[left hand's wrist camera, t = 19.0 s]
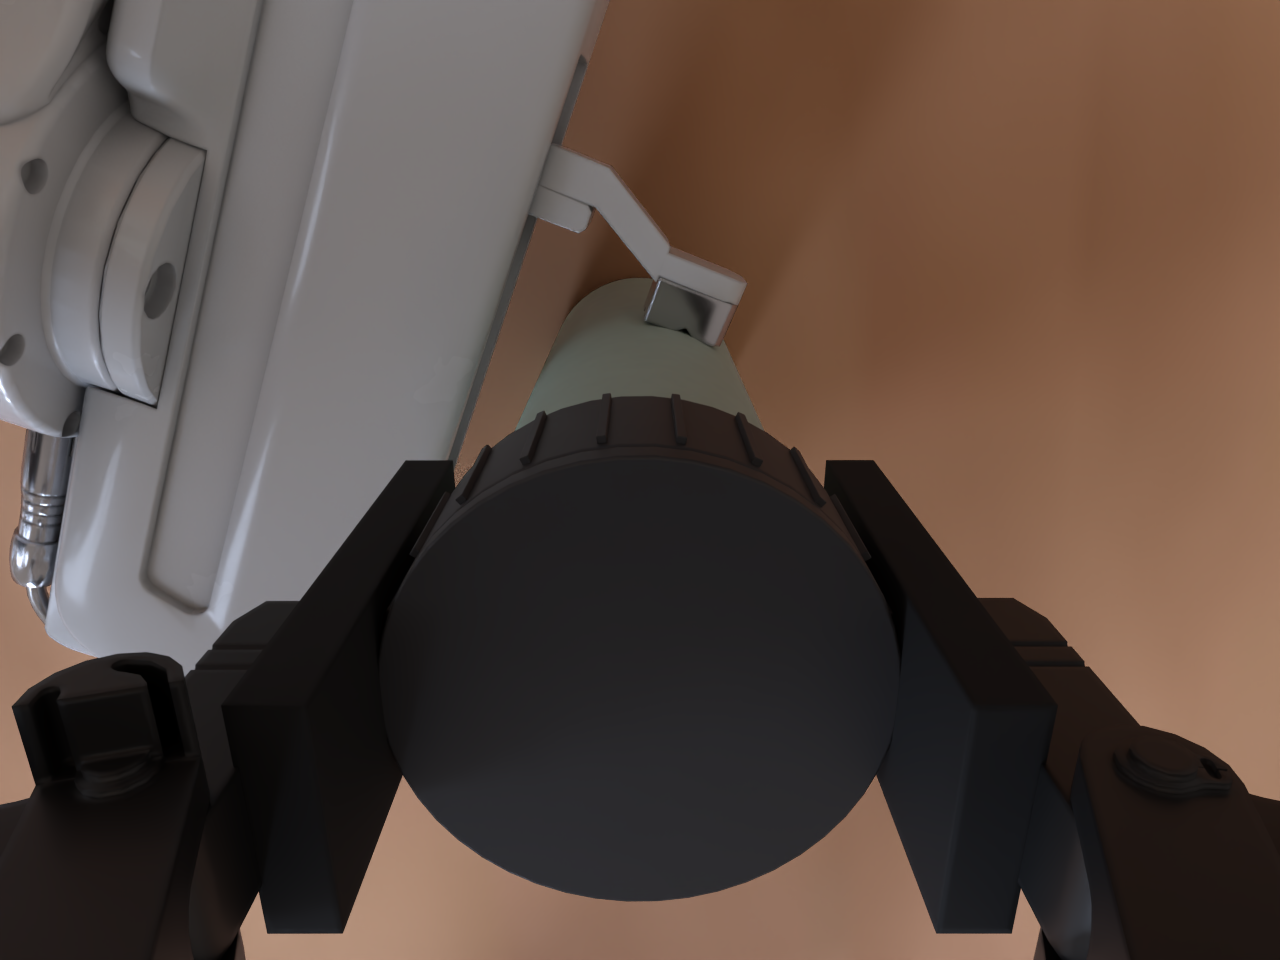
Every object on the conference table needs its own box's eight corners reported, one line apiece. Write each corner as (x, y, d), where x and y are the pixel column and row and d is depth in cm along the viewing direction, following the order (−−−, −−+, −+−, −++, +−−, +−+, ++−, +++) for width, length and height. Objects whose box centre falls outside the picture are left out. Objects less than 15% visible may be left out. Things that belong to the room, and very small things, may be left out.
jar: (711, 262, 25) (824, 436, 10) (736, 430, 26) (864, 799, 11) (536, 295, 25) (381, 511, 10) (572, 459, 27) (487, 853, 12)
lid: (696, 838, 14) (708, 974, 11) (344, 654, 13) (279, 766, 10) (949, 544, 12) (1023, 637, 10) (565, 296, 11) (545, 335, 8)
